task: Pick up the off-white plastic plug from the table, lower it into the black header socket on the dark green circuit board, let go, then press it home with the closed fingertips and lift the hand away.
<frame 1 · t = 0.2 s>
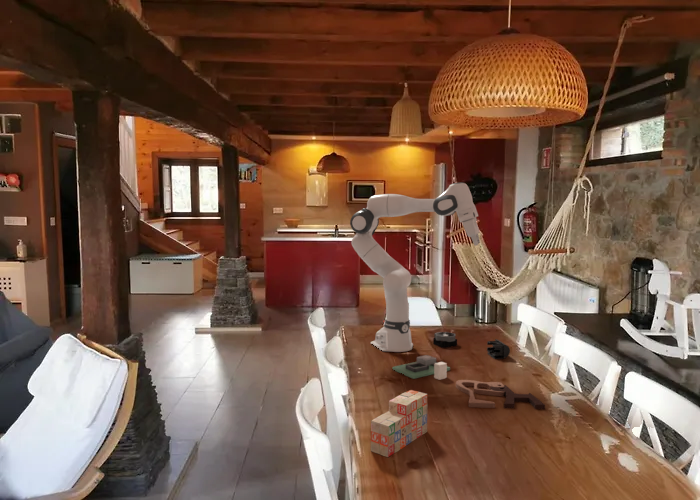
hand: (477, 244, 236), 52 cm above the table, fingers open, 8 cm apart
stack of blocks: (400, 442, 153), on the table
circuit board: (421, 369, 219), on the table
cpu cooler: (445, 345, 259), on the table
wood carving: (496, 397, 189), on the table
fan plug: (440, 377, 209), on the table
end cap: (498, 356, 239), on the table
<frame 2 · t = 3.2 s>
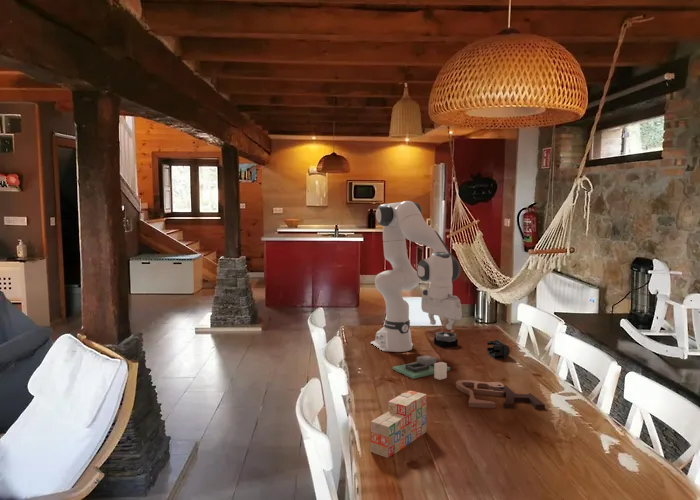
hand: (440, 326, 207), 21 cm above the table, fingers open, 8 cm apart
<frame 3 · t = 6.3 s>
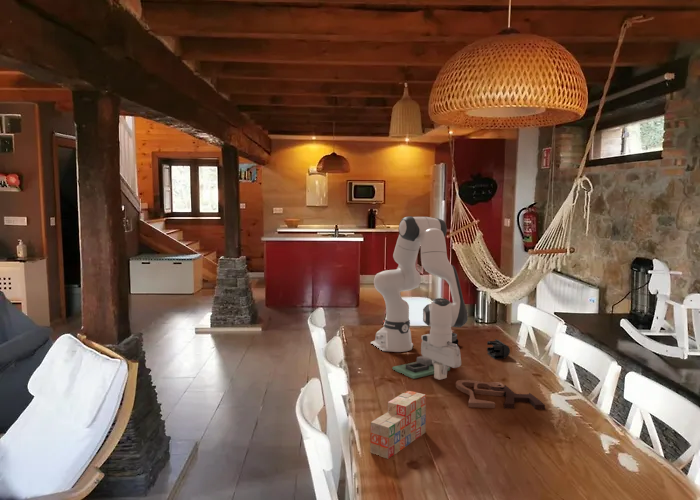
hand: (440, 372, 209), 2 cm above the table, fingers closed on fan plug, 3 cm apart
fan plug: (440, 377, 209), on the table, touching gripper
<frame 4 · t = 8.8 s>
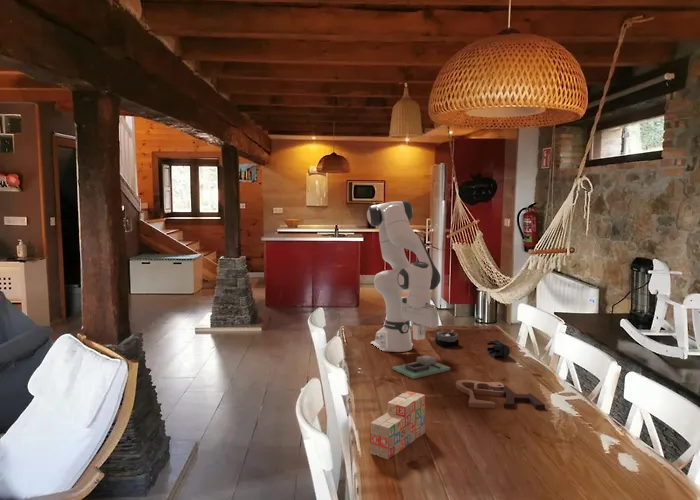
hand: (419, 333, 215), 16 cm above the table, fingers closed on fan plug, 3 cm apart
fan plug: (418, 338, 215), point 14 cm above the table, touching gripper
when the fingers open (4 cm above the table, at t = 11.4 s): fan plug stays where it is, resting on circuit board.
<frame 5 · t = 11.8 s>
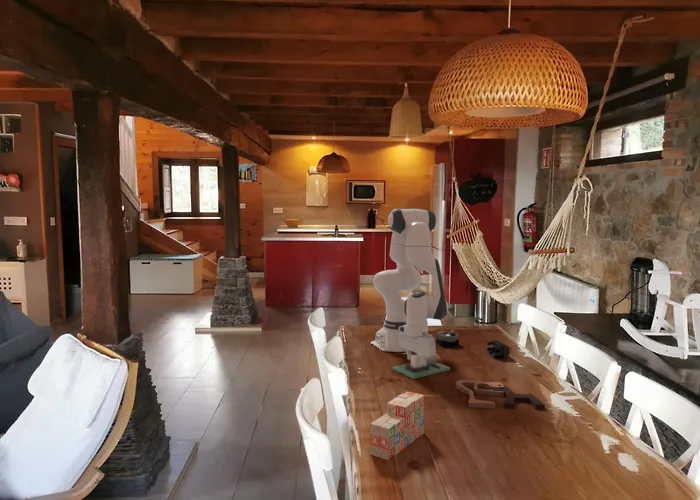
hand: (416, 362, 216), 4 cm above the table, fingers open, 7 cm apart
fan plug: (416, 369, 216), point 1 cm above the table, touching circuit board
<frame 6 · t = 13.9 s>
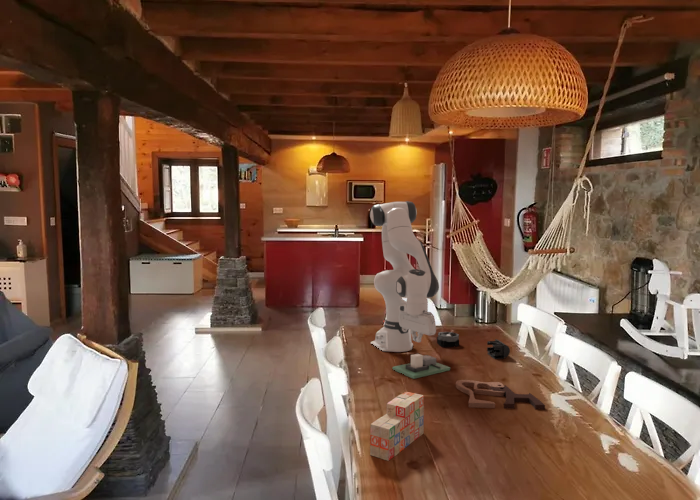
hand: (416, 341, 215), 13 cm above the table, fingers closed
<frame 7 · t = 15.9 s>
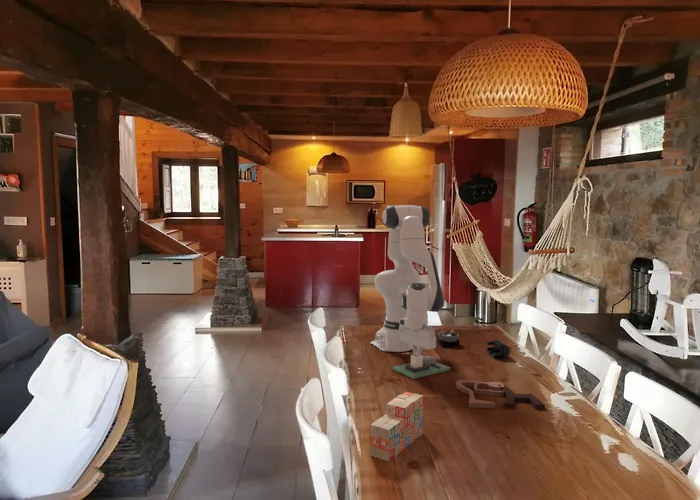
hand: (417, 355, 216), 7 cm above the table, fingers closed, pressing on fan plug
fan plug: (416, 369, 216), point 1 cm above the table, touching circuit board, gripper
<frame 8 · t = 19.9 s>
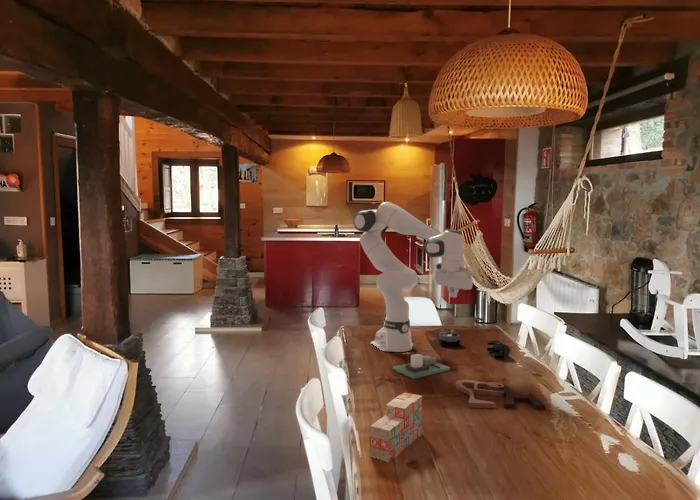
hand: (453, 297, 229), 29 cm above the table, fingers closed
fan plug: (416, 369, 216), point 1 cm above the table, touching circuit board
at the end: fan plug 0.0 cm from the target spot on the circuit board, point 1.2 cm above the circuit board's base; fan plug tilted 0°; the gripper is holding nothing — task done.
